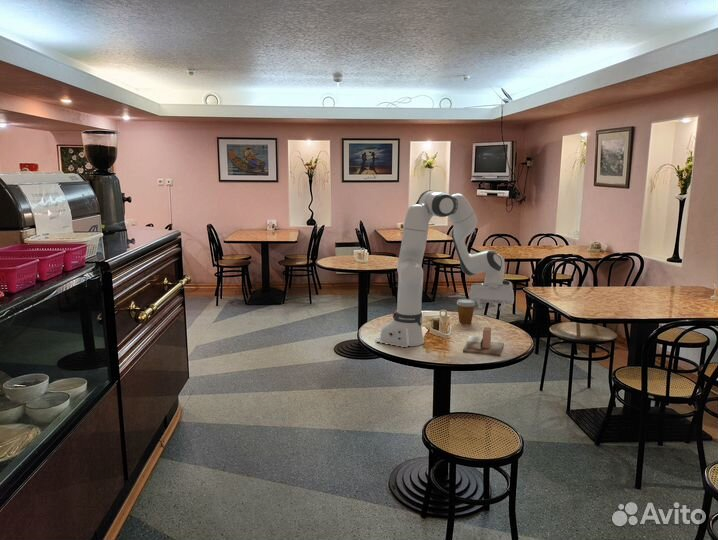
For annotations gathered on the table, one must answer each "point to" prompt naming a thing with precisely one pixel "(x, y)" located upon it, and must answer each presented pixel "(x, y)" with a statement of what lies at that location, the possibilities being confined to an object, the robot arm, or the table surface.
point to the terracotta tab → (486, 337)
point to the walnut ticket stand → (476, 347)
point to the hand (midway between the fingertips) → (490, 309)
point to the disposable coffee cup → (465, 310)
